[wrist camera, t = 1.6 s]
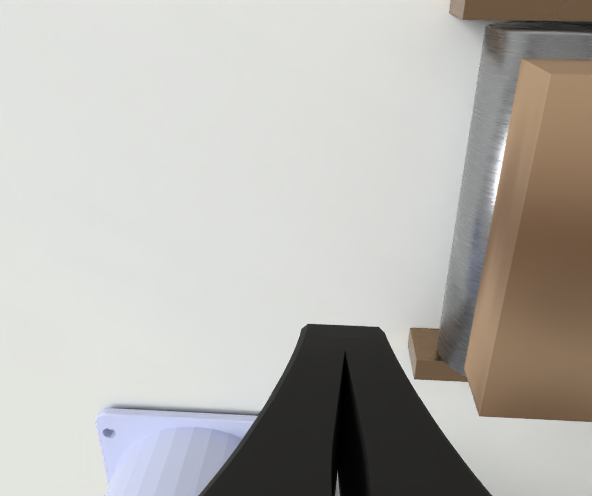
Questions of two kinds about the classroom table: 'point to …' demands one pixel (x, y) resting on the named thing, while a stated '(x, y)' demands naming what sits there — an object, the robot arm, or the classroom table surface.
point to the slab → (539, 255)
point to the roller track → (491, 158)
